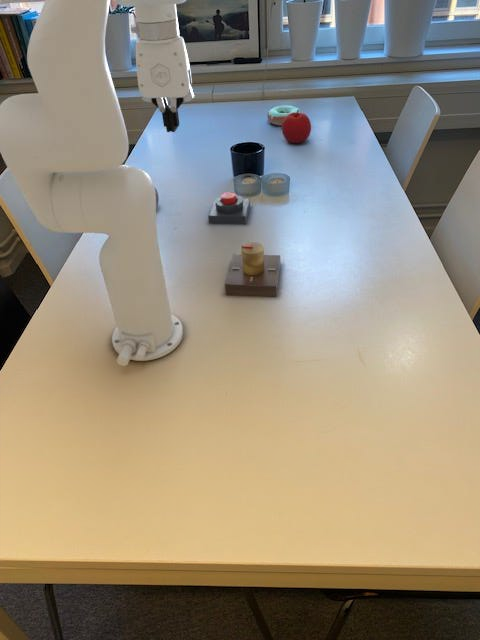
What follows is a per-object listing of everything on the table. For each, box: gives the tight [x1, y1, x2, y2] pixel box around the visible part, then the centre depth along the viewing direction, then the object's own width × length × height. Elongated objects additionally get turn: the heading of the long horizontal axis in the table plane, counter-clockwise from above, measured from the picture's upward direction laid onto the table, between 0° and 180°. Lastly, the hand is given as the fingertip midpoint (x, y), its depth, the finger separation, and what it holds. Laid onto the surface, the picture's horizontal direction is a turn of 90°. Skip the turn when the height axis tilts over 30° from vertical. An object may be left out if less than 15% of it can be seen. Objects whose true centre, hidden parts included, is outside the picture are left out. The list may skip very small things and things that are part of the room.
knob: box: [240, 241, 265, 275], centre depth 97 cm, size 4×4×5 cm
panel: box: [224, 253, 281, 298], centre depth 99 cm, size 11×10×3 cm
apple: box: [281, 109, 312, 144], centre depth 154 cm, size 9×9×10 cm
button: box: [220, 191, 237, 204], centre depth 119 cm, size 4×4×2 cm
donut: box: [266, 105, 302, 127], centre depth 171 cm, size 12×12×4 cm
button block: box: [208, 194, 251, 225], centre depth 121 cm, size 9×9×4 cm
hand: (172, 129), depth 104 cm, fingers closed
